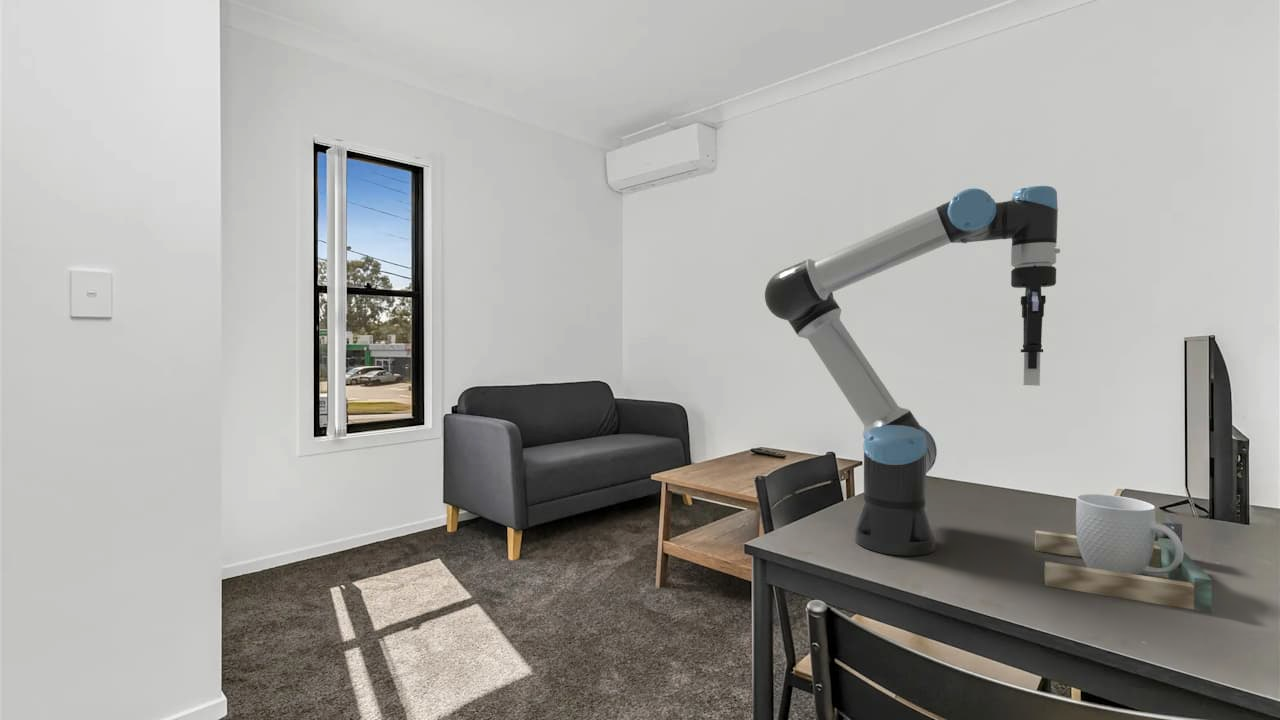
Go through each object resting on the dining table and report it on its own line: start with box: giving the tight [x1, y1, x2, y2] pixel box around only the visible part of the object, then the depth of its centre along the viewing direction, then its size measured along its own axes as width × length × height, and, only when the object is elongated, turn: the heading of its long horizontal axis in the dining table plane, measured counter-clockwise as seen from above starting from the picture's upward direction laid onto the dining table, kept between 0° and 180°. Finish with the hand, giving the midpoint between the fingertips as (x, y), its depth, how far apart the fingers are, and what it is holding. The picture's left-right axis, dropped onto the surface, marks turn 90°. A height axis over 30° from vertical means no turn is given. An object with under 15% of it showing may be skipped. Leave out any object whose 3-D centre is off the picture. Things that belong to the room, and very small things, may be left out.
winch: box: [1154, 515, 1183, 546], centre depth 115 cm, size 8×6×8 cm
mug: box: [1075, 493, 1185, 576], centre depth 105 cm, size 15×11×13 cm
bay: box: [1034, 529, 1213, 613], centre depth 106 cm, size 21×21×5 cm
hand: (1031, 384), depth 121 cm, fingers closed
